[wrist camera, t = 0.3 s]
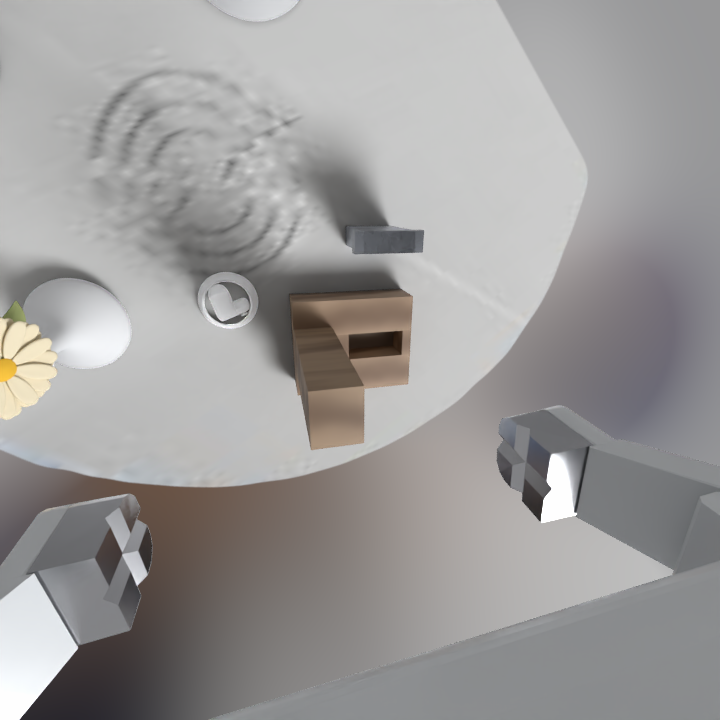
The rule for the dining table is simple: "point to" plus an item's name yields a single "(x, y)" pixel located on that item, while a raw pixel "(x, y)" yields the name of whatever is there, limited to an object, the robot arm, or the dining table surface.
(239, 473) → the dining table surface
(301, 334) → the wooden l-shaped post
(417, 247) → the grey rectangular block
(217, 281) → the white ring with bar
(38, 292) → the flower in vase
